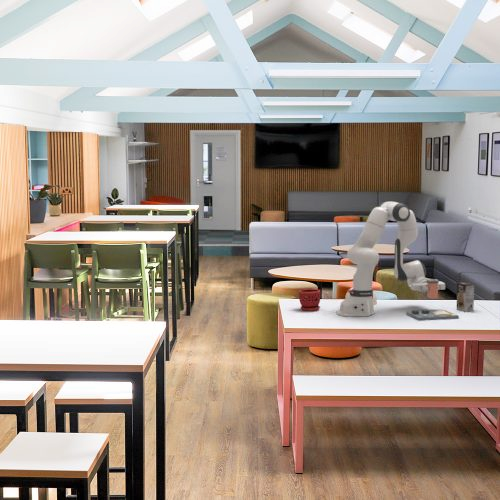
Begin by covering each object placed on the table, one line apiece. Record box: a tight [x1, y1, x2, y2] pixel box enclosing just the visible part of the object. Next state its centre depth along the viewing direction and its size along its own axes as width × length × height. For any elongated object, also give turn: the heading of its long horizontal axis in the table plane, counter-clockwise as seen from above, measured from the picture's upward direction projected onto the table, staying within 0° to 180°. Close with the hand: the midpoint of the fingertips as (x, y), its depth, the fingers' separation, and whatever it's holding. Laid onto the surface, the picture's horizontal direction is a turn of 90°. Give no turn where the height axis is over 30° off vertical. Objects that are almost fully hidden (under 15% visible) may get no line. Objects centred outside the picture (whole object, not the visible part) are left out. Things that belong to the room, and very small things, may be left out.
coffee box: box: [456, 281, 475, 313], centre depth 460 cm, size 9×6×16 cm
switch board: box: [406, 309, 460, 322], centre depth 442 cm, size 24×17×3 cm
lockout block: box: [426, 279, 440, 300], centre depth 449 cm, size 5×5×10 cm
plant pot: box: [298, 288, 321, 312], centre depth 466 cm, size 13×13×12 cm
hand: (433, 288), depth 448 cm, fingers closed on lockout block, 4 cm apart
